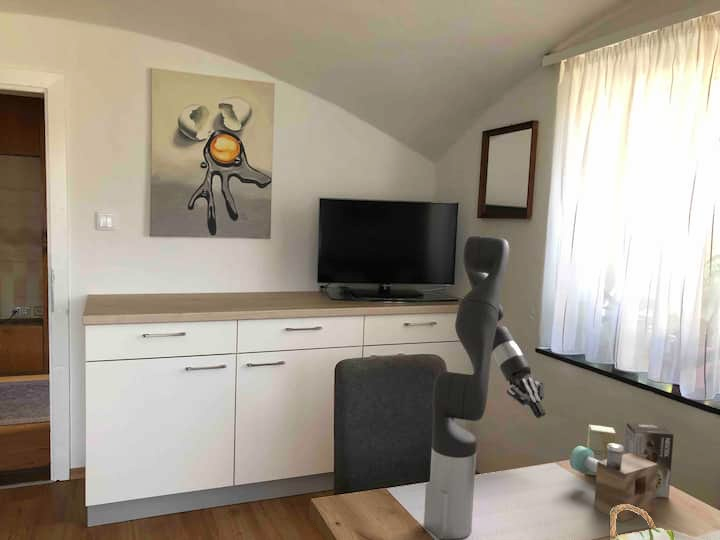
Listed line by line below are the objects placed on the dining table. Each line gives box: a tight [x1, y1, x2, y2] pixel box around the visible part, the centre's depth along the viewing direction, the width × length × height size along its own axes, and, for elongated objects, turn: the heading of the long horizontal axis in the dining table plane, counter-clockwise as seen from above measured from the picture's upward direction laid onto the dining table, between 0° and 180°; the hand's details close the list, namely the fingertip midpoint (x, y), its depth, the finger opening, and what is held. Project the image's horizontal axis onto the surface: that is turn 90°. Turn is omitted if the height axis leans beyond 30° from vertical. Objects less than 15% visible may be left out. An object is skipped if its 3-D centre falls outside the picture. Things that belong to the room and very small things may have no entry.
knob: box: [569, 445, 598, 474], centre depth 139 cm, size 6×14×6 cm, turn 30°
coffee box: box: [624, 422, 675, 498], centre depth 143 cm, size 9×6×16 cm
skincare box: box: [585, 424, 617, 476], centre depth 153 cm, size 6×4×12 cm
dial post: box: [607, 443, 625, 470], centre depth 131 cm, size 3×3×5 cm
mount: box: [593, 453, 658, 522], centre depth 134 cm, size 12×7×11 cm, turn 120°
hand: (541, 416), depth 155 cm, fingers closed
